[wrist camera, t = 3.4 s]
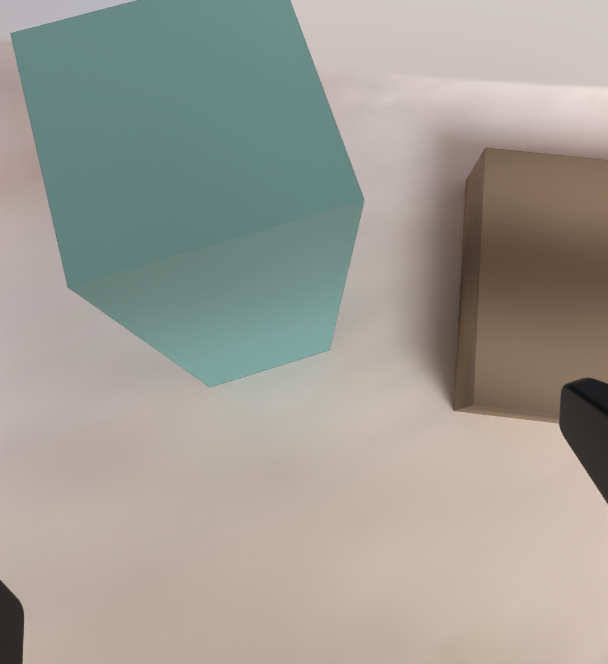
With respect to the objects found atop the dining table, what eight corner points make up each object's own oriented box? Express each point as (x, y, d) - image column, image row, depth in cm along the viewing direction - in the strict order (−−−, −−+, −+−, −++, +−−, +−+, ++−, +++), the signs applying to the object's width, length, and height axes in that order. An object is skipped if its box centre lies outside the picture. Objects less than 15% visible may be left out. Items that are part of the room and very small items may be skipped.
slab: (703, 441, 21) (767, 439, 18) (450, 411, 21) (473, 405, 18) (692, 209, 23) (748, 174, 20) (463, 185, 24) (485, 147, 21)
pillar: (329, 350, 22) (364, 200, 9) (209, 387, 21) (67, 287, 8) (292, 239, 23) (276, -37, 10) (178, 273, 22) (9, 33, 10)
